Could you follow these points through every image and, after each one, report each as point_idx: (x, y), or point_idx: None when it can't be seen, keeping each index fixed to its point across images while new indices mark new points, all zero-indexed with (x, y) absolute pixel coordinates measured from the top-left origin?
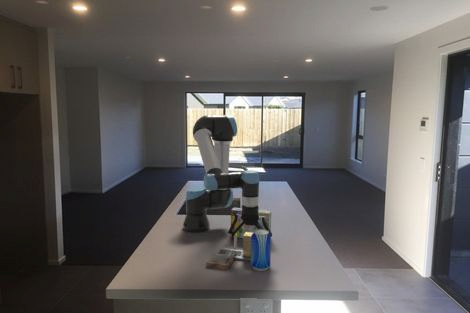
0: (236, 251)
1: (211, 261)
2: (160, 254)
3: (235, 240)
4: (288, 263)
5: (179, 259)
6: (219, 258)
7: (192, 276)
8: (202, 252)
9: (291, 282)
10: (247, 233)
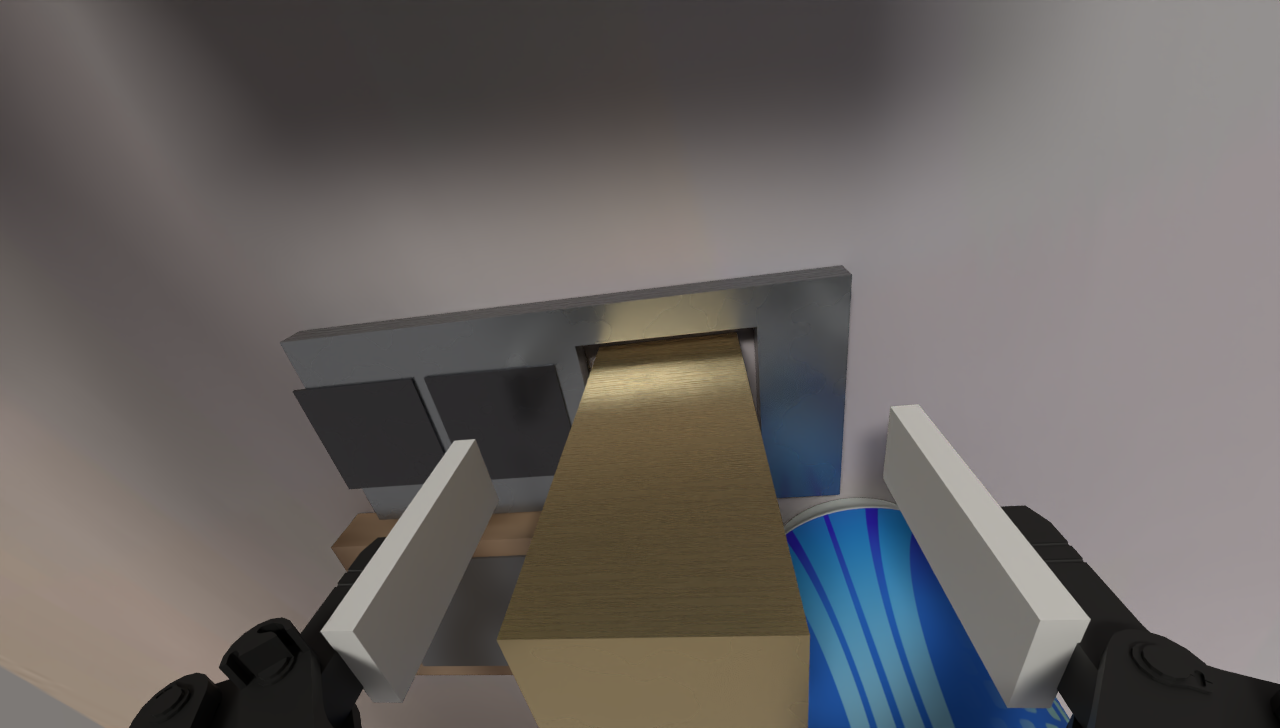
0: (485, 385)
1: (440, 662)
2: (8, 577)
3: (443, 614)
4: (1193, 397)
5: (188, 601)
6: (459, 614)
7: (451, 725)
8: (191, 456)
9: None
10: (590, 699)
